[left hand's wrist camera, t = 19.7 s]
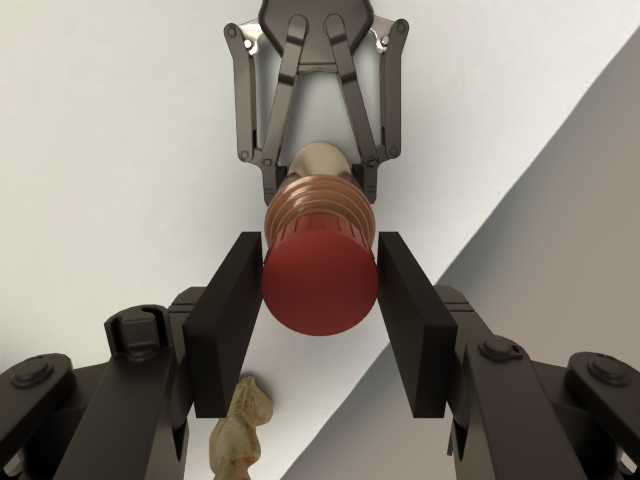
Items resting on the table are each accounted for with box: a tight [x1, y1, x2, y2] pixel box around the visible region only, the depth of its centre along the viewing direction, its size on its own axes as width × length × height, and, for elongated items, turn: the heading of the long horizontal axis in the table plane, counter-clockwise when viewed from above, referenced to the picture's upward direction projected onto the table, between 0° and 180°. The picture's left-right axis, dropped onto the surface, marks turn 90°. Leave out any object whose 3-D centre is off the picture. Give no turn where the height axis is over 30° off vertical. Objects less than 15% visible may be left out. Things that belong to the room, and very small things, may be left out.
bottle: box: [264, 142, 375, 248], centre depth 25 cm, size 6×6×25 cm
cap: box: [261, 213, 379, 336], centre depth 13 cm, size 4×4×2 cm
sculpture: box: [209, 376, 273, 480], centre depth 39 cm, size 6×7×15 cm
